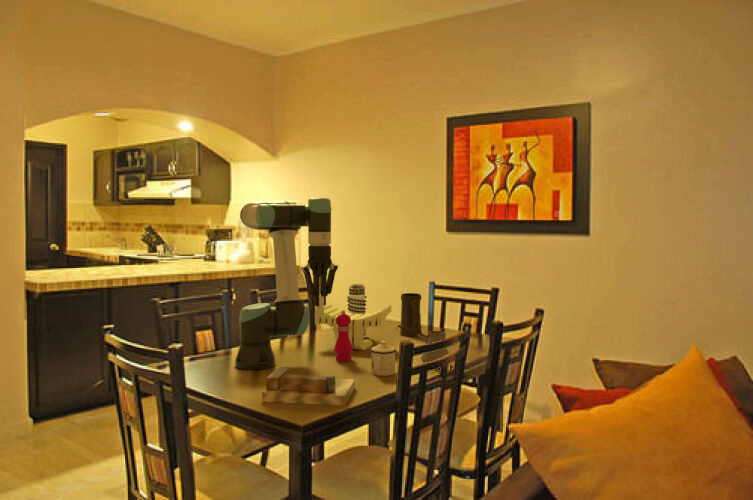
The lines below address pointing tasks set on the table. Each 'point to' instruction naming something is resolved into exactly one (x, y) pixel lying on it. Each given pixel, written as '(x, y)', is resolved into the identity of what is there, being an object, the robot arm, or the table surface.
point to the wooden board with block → (277, 393)
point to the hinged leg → (309, 383)
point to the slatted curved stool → (354, 324)
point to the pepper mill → (343, 338)
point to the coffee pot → (433, 337)
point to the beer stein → (410, 314)
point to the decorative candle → (357, 300)
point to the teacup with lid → (383, 359)
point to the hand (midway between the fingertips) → (320, 315)
